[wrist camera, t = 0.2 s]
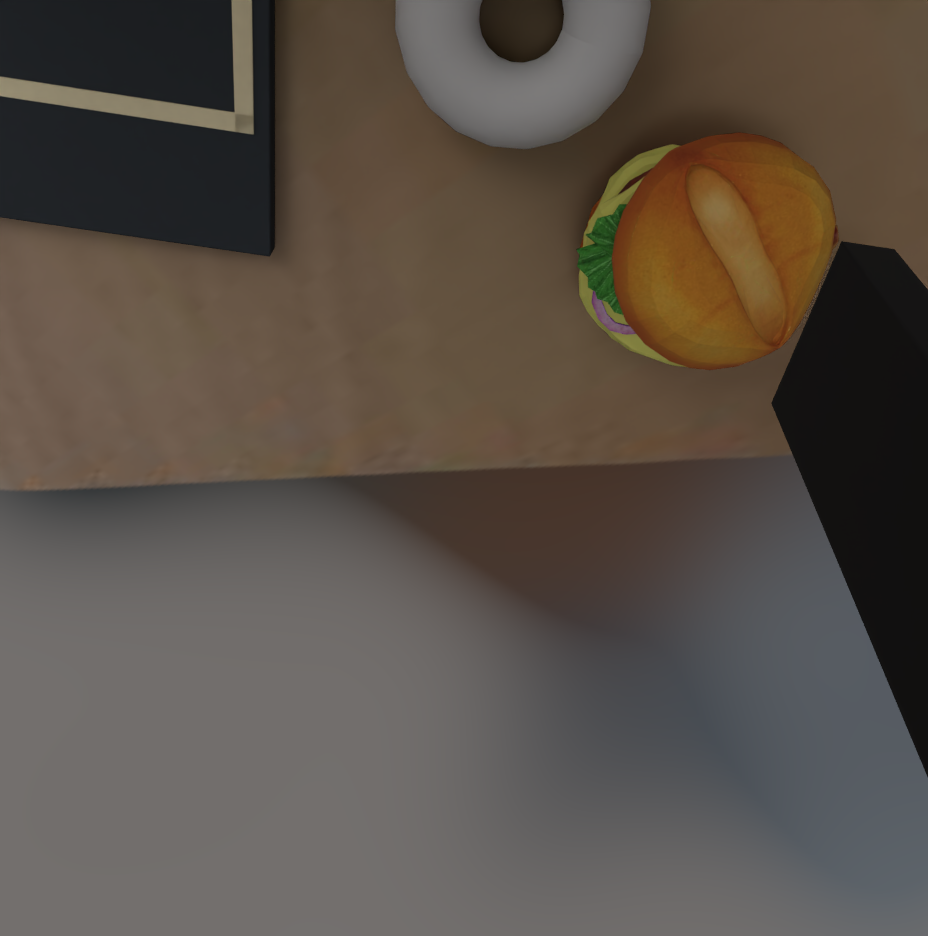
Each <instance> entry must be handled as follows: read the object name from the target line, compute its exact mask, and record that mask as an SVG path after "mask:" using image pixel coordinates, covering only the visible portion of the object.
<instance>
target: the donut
mask: <svg viewBox="0 0 928 936" xmlns="http://www.w3.org/2000/svg"><path fill="white" fill-rule="evenodd" d="M481 3H482V0H396V16H395V30H396V34H397V38H398V41H399V45H400V49H401V52H402V56H403V60H404V63H405V67H406V71H407V73H408V75H409V77H410V78H411V80H412V82H413V83H414V85H415V86H416V88H417V90H418V91H419V93H420V94H421V96H422V98H423V99H424V101H425V103H426V104H427V106H428V107H429V108H430V109H431V110H432V111H434V112H435V113H436V114H437V115H438V116H439V117H440V118H442V119H443V120H444V121H445V122H446V123H447V124H448V125H450V126H451V127H452V128H453V129H454V130H455V131H457V132H459V133H461V134H463V135H466V136H468V137H470V138H473V139H475V140H477V141H480V142H482V143H484V144H487V145H489V146H494V147H505V148H517V149H531V148H535V147H539V146H543V145H547V144H552V143H556V142H560V141H564V140H565V139H567V138H569V137H570V136H572V135H574V134H575V133H577V132H579V131H580V130H582V129H584V128H585V127H587V126H589V125H590V124H592V123H594V122H595V121H597V120H598V119H599V118H600V116H601V115H602V114H603V113H604V112H605V111H606V110H607V109H608V108H609V107H610V106H611V104H612V103H613V102H614V101H615V100H616V99H617V98H618V97H619V96H620V95H621V93H622V92H623V91H624V90H625V87H626V85H627V83H628V81H629V79H630V77H631V75H632V73H633V71H634V69H635V67H636V65H637V63H638V61H639V59H640V57H641V55H642V53H643V48H644V42H645V37H646V31H647V26H648V20H649V15H650V9H651V2H650V0H562V3H563V10H564V20H563V28H562V31H561V33H560V35H559V38H558V40H557V42H556V43H555V44H554V46H553V47H552V48H551V49H550V50H549V51H548V52H547V53H545V54H544V55H542V56H541V57H539V58H538V59H535V60H532V61H528V62H524V63H522V62H510V61H508V60H506V59H503V58H501V57H499V56H497V55H496V54H495V53H494V52H493V51H492V50H491V49H490V48H489V47H488V46H487V44H486V42H485V40H484V38H483V37H482V33H481V29H480V24H479V15H480V6H481Z"/></svg>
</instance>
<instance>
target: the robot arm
mask: <svg viewBox="0 0 928 936" xmlns="http://www.w3.org/2000/svg"><path fill="white" fill-rule="evenodd" d="M771 404H772V406H773V408H774V411H775V413H776V416H777V418H778V420H779V423H780V425H781V427H782V430H783V432H784V435H785V437H786V439H787V442H788V444H789V447H790V449H791V451H792V454H793V456H794V458H795V461H796V463H797V466H798V468H799V471H800V473H801V475H802V478H803V480H804V482H805V485H806V487H807V489H808V492H809V494H810V497H811V499H812V502H813V504H814V506H815V509H816V511H817V513H818V516H819V518H820V521H821V523H822V525H823V528H824V530H825V533H826V535H827V537H828V540H829V542H830V545H831V547H832V549H833V552H834V554H835V557H836V559H837V561H838V564H839V566H840V568H841V571H842V573H843V576H844V578H845V580H846V583H847V585H848V588H849V590H850V592H851V595H852V597H853V599H854V602H855V604H856V607H857V609H858V612H859V614H860V616H861V619H862V621H863V623H864V626H865V628H866V631H867V633H868V635H869V638H870V640H871V642H872V645H873V647H874V650H875V652H876V655H877V657H878V659H879V662H880V664H881V666H882V669H883V671H884V673H885V676H886V678H887V681H888V683H889V685H890V688H891V690H892V693H893V695H894V698H895V700H896V702H897V704H898V707H899V709H900V712H901V714H902V716H903V719H904V721H905V724H906V726H907V729H908V731H909V733H910V736H911V738H912V740H913V743H914V745H915V748H916V750H917V752H918V755H919V757H920V760H921V762H922V764H923V767H924V769H925V772H926V774H927V776H928V289H927V288H926V287H925V286H924V285H923V283H922V282H921V281H920V280H919V279H918V277H917V276H916V275H915V274H914V272H913V271H912V270H911V269H910V268H909V266H908V265H907V264H906V263H905V262H904V260H903V259H902V258H901V257H900V255H899V254H898V253H897V252H896V251H895V249H889V248H882V247H875V246H869V245H862V244H856V243H849V242H843V241H842V242H841V244H840V246H839V249H838V251H837V253H836V255H835V258H834V260H833V262H832V265H831V267H830V269H829V272H828V274H827V276H826V279H825V281H824V283H823V285H822V288H821V290H820V292H819V295H818V297H817V299H816V302H815V304H814V306H813V308H812V311H811V313H810V315H809V318H808V320H807V322H806V325H805V327H804V329H803V332H802V334H801V336H800V338H799V341H798V343H797V345H796V348H795V350H794V352H793V355H792V357H791V359H790V362H789V364H788V366H787V368H786V371H785V373H784V375H783V378H782V380H781V382H780V385H779V387H778V389H777V391H776V394H775V396H774V398H773V401H772V403H771Z"/></svg>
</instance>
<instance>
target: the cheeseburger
mask: <svg viewBox="0 0 928 936" xmlns="http://www.w3.org/2000/svg"><path fill="white" fill-rule="evenodd" d="M835 224H836V217H835V213H834V208H833V203H832V198H831V194H830V190H829V189H828V187H827V186H826V184H825V183H824V181H823V180H822V178H821V177H820V176H819V174H818V173H817V171H816V170H815V168H814V167H813V166H811V165H810V164H808V163H807V162H806V161H804V160H803V159H801V158H800V157H799V156H797V155H796V154H795V153H793V152H792V151H791V150H790V149H788V148H787V147H786V146H784V145H783V144H782V143H780V142H777V141H774V140H772V139H769V138H766V137H764V136H760V135H753V134H746V133H731V134H722V135H714V136H708V137H705V138H702V139H699V140H696V141H693V142H690V143H687V144H685V145H682V146H679V145H672V144H671V145H668V146H664V147H660V148H657V149H653V150H650V151H647V152H644V153H641V154H638V155H637V156H636V157H634V158H633V159H631V160H630V161H629V162H627V163H626V164H624V165H623V166H622V167H621V168H620V169H619V170H618V171H617V172H616V173H615V174H614V175H612V176H611V177H610V179H609V181H608V184H607V187H606V189H605V192H604V194H603V195H602V197H601V198H600V199H599V200H598V201H597V203H596V204H595V205H594V206H593V208H592V210H591V214H590V217H589V220H588V223H587V227H586V230H585V232H584V236H583V239H582V243H581V246H580V248H579V249H576V250H577V252H578V253H579V260H578V265H577V267H578V268H579V269H580V272H579V296H580V298H581V300H582V302H583V304H584V306H585V308H586V310H587V312H588V313H589V314H590V316H591V317H592V318H593V319H594V321H595V322H596V323H597V324H598V326H600V327H601V328H602V329H603V330H604V331H606V332H607V334H608V335H609V337H611V338H612V339H614V340H615V341H617V342H618V343H620V344H622V345H623V346H624V347H625V348H627V349H628V350H630V351H633V352H635V353H638V354H641V355H644V356H647V357H650V358H652V359H655V360H658V361H661V362H664V363H667V364H670V365H673V366H682V367H689V368H696V369H705V370H714V369H721V368H729V367H736V366H739V365H742V364H744V363H747V362H750V361H753V360H755V359H758V358H761V357H763V356H765V355H767V354H770V353H771V352H773V351H775V350H777V349H778V348H780V347H781V346H782V345H784V344H785V343H786V342H787V340H788V339H789V338H790V337H791V335H792V334H793V332H794V331H795V330H796V328H797V327H798V325H799V324H800V322H801V320H802V318H803V316H804V314H805V313H806V311H807V309H808V307H809V305H810V303H811V301H812V299H813V297H814V295H815V292H816V290H817V288H818V286H819V283H820V281H821V279H822V277H823V274H824V272H825V269H826V266H827V264H828V261H829V258H830V256H831V253H832V250H833V249H834V248H835V247H836V245H837V243H838V241H839V235H838V227H837V225H835Z"/></svg>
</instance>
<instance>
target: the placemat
mask: <svg viewBox="0 0 928 936" xmlns="http://www.w3.org/2000/svg"><path fill="white" fill-rule="evenodd" d="M0 217H2V218H9V219H16V220H23V221H30V222H37V223H44V224H50V225H57V226H64V227H71V228H78V229H85V230H92V231H99V232H105V233H112V234H119V235H126V236H133V237H140V238H147V239H154V240H160V241H167V242H174V243H181V244H188V245H195V246H202V247H209V248H216V249H222V250H229V251H236V252H243V253H250V254H257V255H264V256H270V255H271V253H272V252H273V250H274V248H275V0H0Z"/></svg>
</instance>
